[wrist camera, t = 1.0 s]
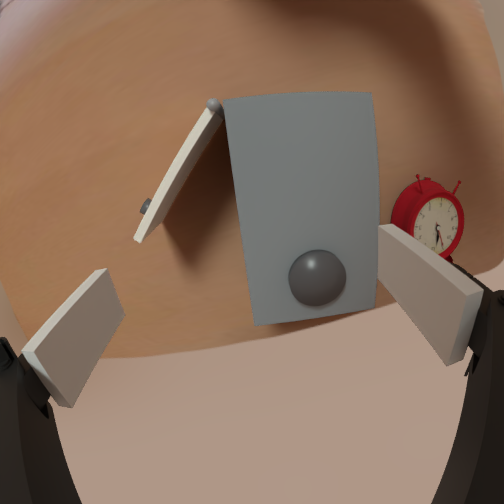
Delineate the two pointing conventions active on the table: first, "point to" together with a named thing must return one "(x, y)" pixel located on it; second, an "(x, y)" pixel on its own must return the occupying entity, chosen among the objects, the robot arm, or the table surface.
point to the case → (306, 201)
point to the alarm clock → (430, 216)
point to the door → (180, 169)
